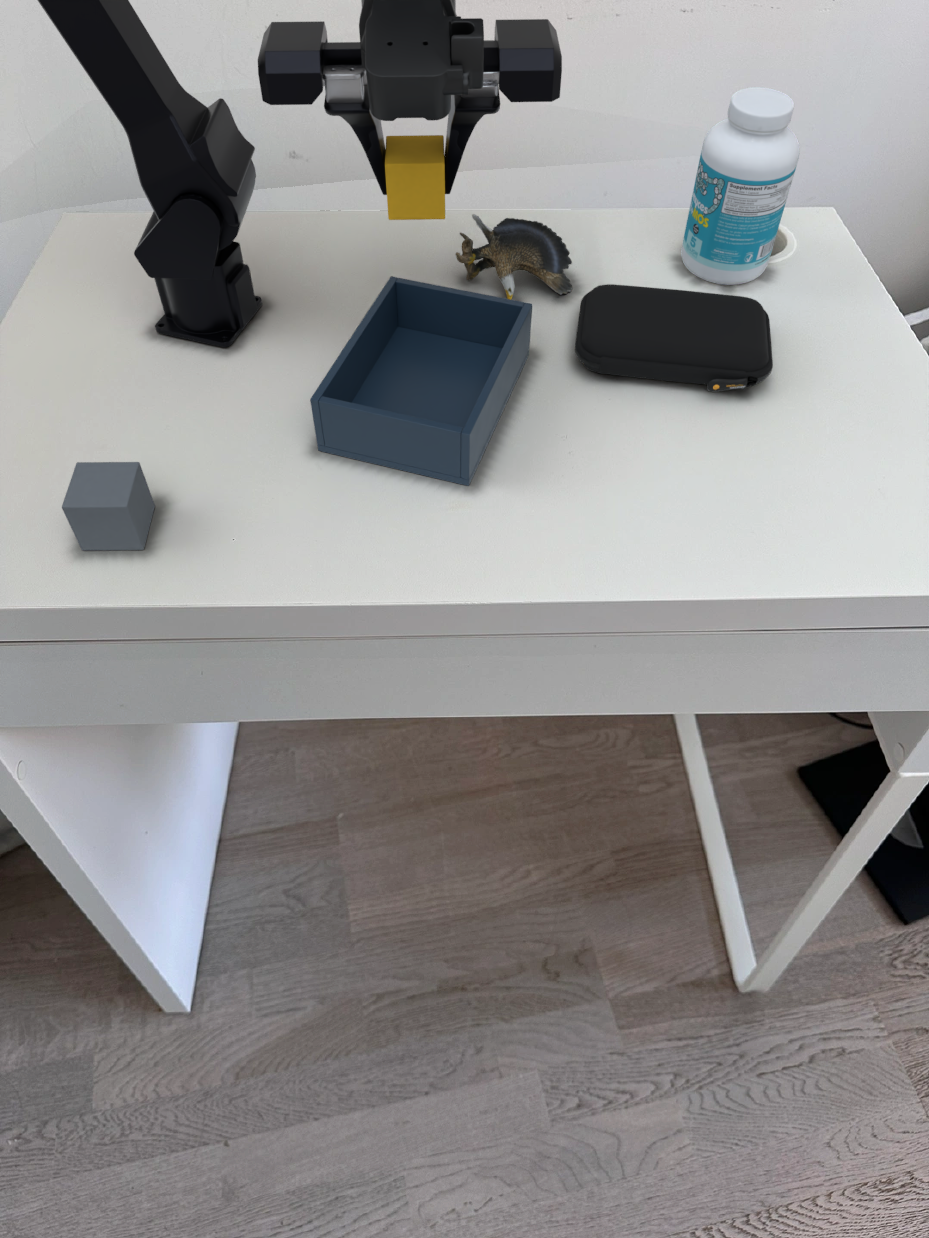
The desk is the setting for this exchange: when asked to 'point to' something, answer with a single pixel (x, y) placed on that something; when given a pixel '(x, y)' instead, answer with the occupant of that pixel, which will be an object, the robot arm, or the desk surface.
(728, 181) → the pill bottle
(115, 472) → the slate grey cube
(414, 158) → the mustard yellow block
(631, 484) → the desk surface
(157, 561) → the desk surface
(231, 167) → the robot arm
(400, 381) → the dark blue open box
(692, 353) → the carrying case
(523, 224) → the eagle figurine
